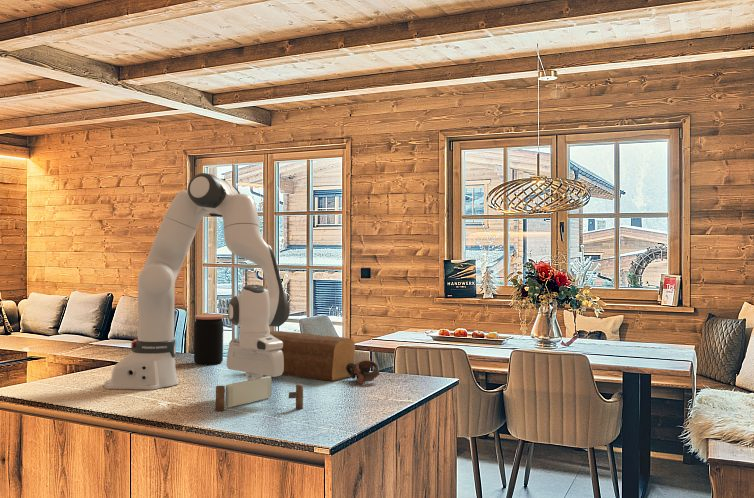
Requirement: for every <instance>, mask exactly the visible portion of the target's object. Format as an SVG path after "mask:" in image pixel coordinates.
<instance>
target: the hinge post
mask: <svg viewBox="0 0 754 498" xmlns="http://www.w3.org/2000/svg"><path fill="white" fill-rule="evenodd" d="M225 389H226V385H216V386H215V407H214V408H215V411H216V412H224V411H225V408H226V407H225Z"/></svg>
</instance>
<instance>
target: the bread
mask: <svg viewBox="0 0 754 498" xmlns="http://www.w3.org/2000/svg"><path fill="white" fill-rule="evenodd" d="M270 334H271V335H272V336H274V337H275V338H277V339H279V340H281V341H282V342H283V348H281V349H280V350H282V352H283V357H284V371H283V373H282V374H283V375H284V376H291V377H297V378H304V379H313V380H318V381H319V380H320V381H330V382H336V381H339V380H342V379H347V378H352V377H351V375H349V373H348V372H347V370H346V367H347V364H348V363H354V364H356V363H355V362H356V356H355V355H356V344H355V341H354V340H353V338H348V337H342V336H333V335H331V336H330V335H321V334H312V333H302V332H294V331H293V332H292V331H282V330H274V331H272V330H270ZM351 370H352V369H351Z"/></svg>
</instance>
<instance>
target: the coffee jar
mask: <svg viewBox="0 0 754 498" xmlns="http://www.w3.org/2000/svg"><path fill="white" fill-rule="evenodd" d="M223 319H224V315H223V314H216V313H215V314H213V313H212V314H211V313H209V314H208V313H207V314H206V313H205V314H195V315H194V332H193V333H194V334H193V335H194V336H193V337H194V343H193V361H194V363H195V365H200V366H215V365H216V366H217V365H220V364H222V363H223V360H224V320H223Z"/></svg>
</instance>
